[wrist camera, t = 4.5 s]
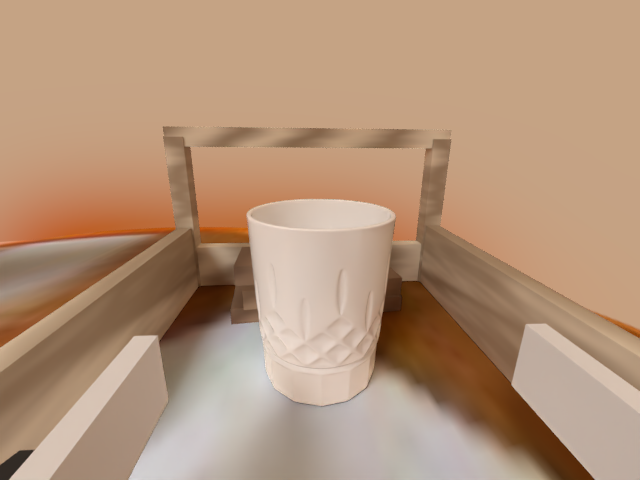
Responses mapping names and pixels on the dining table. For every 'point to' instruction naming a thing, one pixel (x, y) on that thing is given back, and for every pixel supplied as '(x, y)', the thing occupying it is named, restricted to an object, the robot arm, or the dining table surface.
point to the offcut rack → (217, 269)
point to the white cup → (320, 293)
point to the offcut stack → (246, 301)
